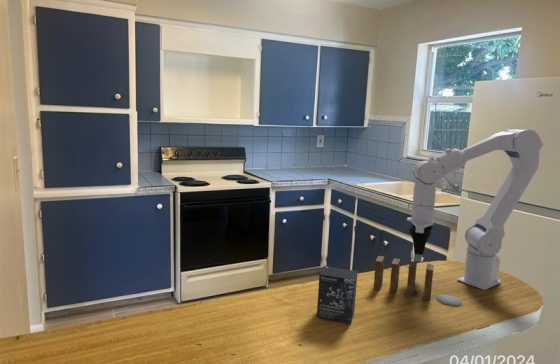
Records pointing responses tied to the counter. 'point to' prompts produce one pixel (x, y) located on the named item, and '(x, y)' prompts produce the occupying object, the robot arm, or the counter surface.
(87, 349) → the counter surface
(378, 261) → the domino
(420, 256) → the domino head
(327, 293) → the box
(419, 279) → the counter surface
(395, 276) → the domino
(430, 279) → the domino
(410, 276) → the domino
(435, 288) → the counter surface
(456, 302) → the disc
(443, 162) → the robot arm
